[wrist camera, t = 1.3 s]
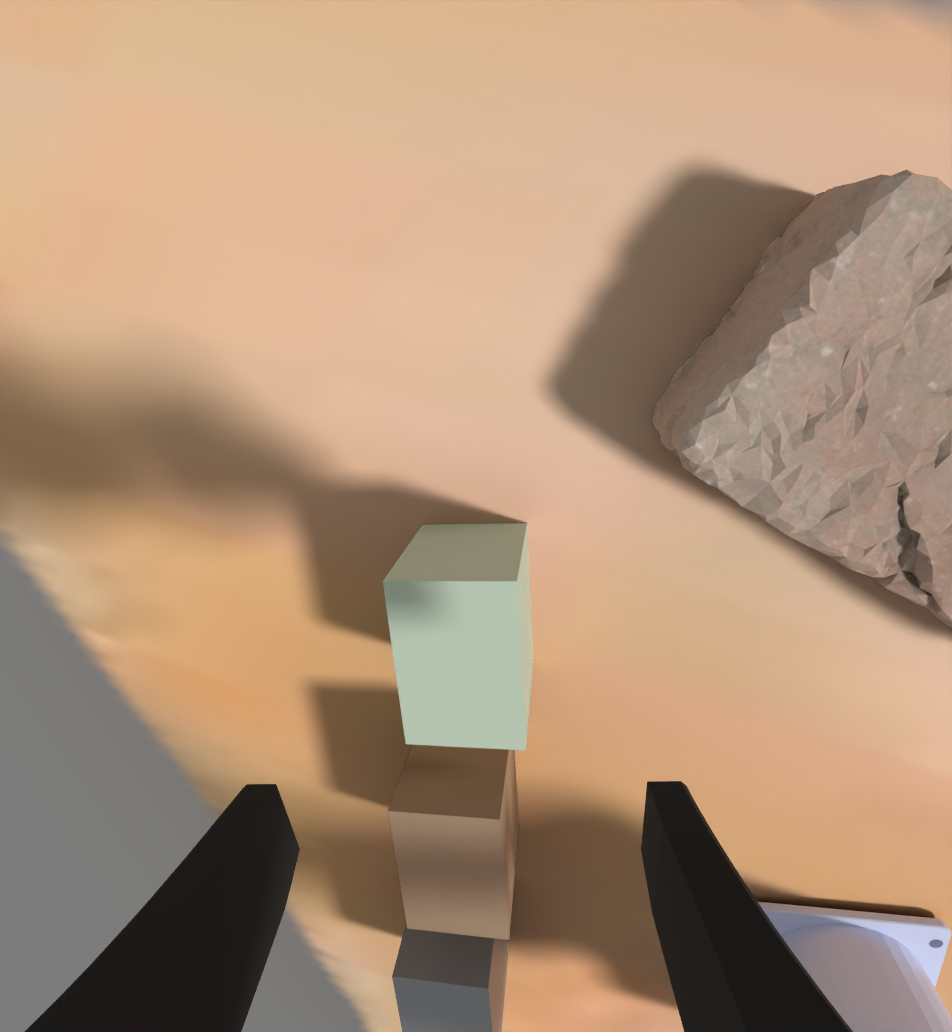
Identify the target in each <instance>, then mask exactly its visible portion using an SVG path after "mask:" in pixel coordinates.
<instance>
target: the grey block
mask: <svg viewBox="0 0 952 1032" xmlns="http://www.w3.org/2000/svg"><path fill="white" fill-rule="evenodd" d="M507 961H508V950H507V940H504V939H496V938H487V937H478V936H469V935H461V934H452V933H443V932H435V931H426V930H417V929H408V928H407V924H406V926H405V930H404V933H403V937H402V941H401V945H400V949H399V953H398V956H397V960H396V964H395V968H394V972H393V975H392V978H393V983H394V989H395V994H396V999H397V1005H398V1010H399V1016H400V1021H401V1026H402V1032H501V1030H502V1018H503V1007H504V995H505V984H506V972H507Z"/></svg>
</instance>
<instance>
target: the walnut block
mask: <svg viewBox="0 0 952 1032" xmlns="http://www.w3.org/2000/svg"><path fill="white" fill-rule="evenodd" d="M388 815H389V821H390V827H391V833H392V839H393V845H394V851H395V857H396V863H397V869H398V875H399V881H400V888H401V894H402V900H403V906H404V912H405V918H406V924H407V928H408V929H417V930H426V931H435V932H443V933H452V934H461V935H469V936H478V937H487V938H496V939H504V940H509V936H510V924H511V913H512V902H513V890H514V879H515V868H516V856H517V845H518V834H519V817H518V801H517V785H516V769H515V753H514V750H507V749H488V748H469V747H450V746H431V745H412V746H411V748H410V751H409V754H408V757H407V759H406V762H405V765H404V768H403V770H402V773H401V776H400V779H399V781H398V784H397V787H396V790H395V793H394V795H393V798H392V801H391V804H390V806H389V809H388Z"/></svg>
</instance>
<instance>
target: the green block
mask: <svg viewBox="0 0 952 1032" xmlns="http://www.w3.org/2000/svg"><path fill="white" fill-rule="evenodd" d="M383 588H384V595H385V602H386V609H387V616H388V623H389V630H390V637H391V644H392V651H393V658H394V665H395V672H396V680H397V687H398V694H399V701H400V708H401V715H402V722H403V729H404V736H405V743H406V744H412V745H431V746H450V747H469V748H488V749H507V750H526V742H527V730H528V718H529V706H530V694H531V682H532V671H533V644H532V621H531V599H530V576H529V553H528V531H527V523H488V524H428V525H422V526H421V528H420V529H419V530H418V532H417V533H416V535H415V536H414V538H413V539H412V540H411V542H410V543H409V545H408V546H407V547H406V549H405V550H404V552H403V553H402V555H401V556H400V557H399V559H398V560H397V562H396V563H395V564H394V566H393V567H392V569H391V570H390V572H389V573H388V574H387V576H386V577H385V579H384V580H383Z"/></svg>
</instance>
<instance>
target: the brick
mask: <svg viewBox="0 0 952 1032" xmlns="http://www.w3.org/2000/svg"><path fill="white" fill-rule="evenodd" d="M761 257H762V258H761V259H760V261H759V264H758V266H757V269H756V270H755V271H754V272H753V278H752V279H751V280H750V281H749V282H748V283H747V284H746V285H745V286H744V289H743V292H742V293H741V294H740V296H739V297H738V298H737V299H736V301H735V302H734V303H733V304H732V306H731V307H730V310H729V311H728V312H727V313H726V314H725V315H724V316H723V317H722V318H721V321H720V324H719V325H718V326H716V328H715V330H714V333H713V334H711V335H710V336H707V337H706V338H705V339H704V341H703V342H702V343H701V345H700V346H699V348H698V349H697V351H696V352H695V354H694V355H692V356H691V357H690V358H688V359H687V360H686V361H685V362H684V363H683V364H682V366H681V367H680V368H679V369H678V370H677V371H676V373H675V374H674V376H673V377H672V379H671V381H670V383H669V385H668V387H667V389H666V390H665V391H664V393H663V394H662V396H661V397H660V399H659V400H658V401H657V403H656V406H655V410H654V413H653V417H652V420H651V421H652V423H653V426H654V428H655V429H656V430H657V431H658V432H659V435H660V440H661V442H662V444H663V445H664V447H665V448H666V449H668V450H671V451H673V452H674V453H675V454H676V456H677V458H678V459H679V460H680V461H681V466H682V467H684V468H685V469H686V470H688V471H689V472H690V473H692V474H693V475H695V476H696V477H698V478H699V479H701V480H702V481H704V482H705V483H707V484H708V485H710V486H713V487H716V488H717V489H719V490H720V491H721V492H722V493H723V494H724V495H726V496H727V497H729V498H730V499H731V500H733V501H734V502H736V503H737V504H738V505H740V506H741V507H743V508H745V509H747V510H749V511H751V512H753V513H754V514H755V515H757V516H758V517H760V518H761V519H763V520H764V521H766V522H767V523H769V524H770V525H772V526H773V527H775V528H776V529H778V530H779V531H781V532H782V533H784V534H785V535H787V536H789V537H790V538H792V539H794V540H796V541H798V542H800V543H802V544H804V545H806V546H808V547H810V548H813V549H815V550H817V551H819V552H821V553H823V554H826V555H828V556H829V557H831V558H832V559H834V560H835V561H836V562H838V563H839V564H841V565H842V566H844V567H846V568H848V569H850V570H853V571H856V572H859V573H862V574H864V575H867V576H870V577H873V578H874V579H875V580H876V581H877V582H878V583H879V584H880V585H882V586H883V587H884V588H886V589H888V590H890V591H892V592H894V593H896V594H898V595H900V596H903V597H905V598H906V599H908V600H910V601H911V602H913V603H915V604H916V605H920V606H924V607H926V608H927V609H928V610H929V611H930V612H931V613H932V614H933V615H934V616H935V617H936V618H937V619H939V620H940V621H941V622H943V623H944V624H946V625H947V626H948V627H950V628H951V629H952V190H951V189H950V188H948V187H947V186H946V185H945V184H944V183H943V182H942V181H940V180H939V179H938V178H935V177H929V176H922V175H916V174H914V173H912V172H910V171H908V170H905V171H902V172H900V173H897V174H895V175H892V176H888V175H879V176H876V177H872V178H869V179H866V180H863V181H859V182H856V183H851V184H847V185H842V186H837V187H834V188H833V189H829V190H827V191H826V192H822V193H819V194H817V195H816V196H815V198H814V199H813V201H812V202H811V203H810V204H809V205H808V206H807V207H806V208H805V209H804V210H803V211H802V212H801V213H800V214H799V215H798V216H797V217H796V218H795V219H794V220H793V221H792V222H790V223H789V225H788V227H787V229H786V230H785V232H784V233H783V235H782V236H781V237H777V238H776V239H775V240H774V241H773V242H772V243H771V244H770V245H769V246H768V248H767V249H766V250H765V251H764V253H763V254H762V256H761Z"/></svg>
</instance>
